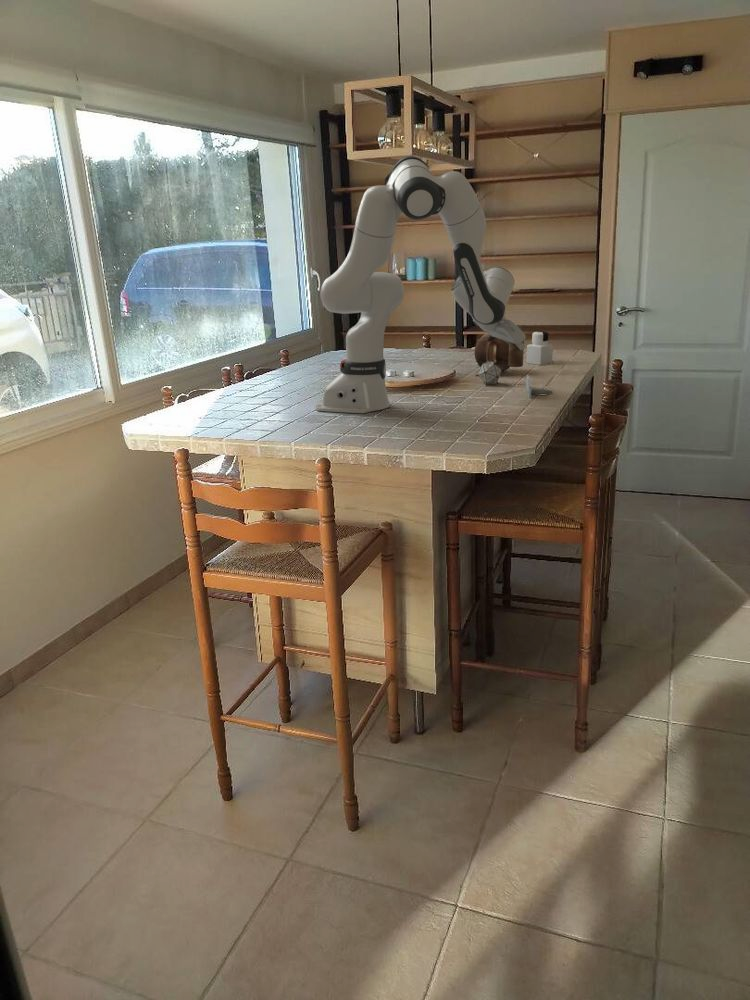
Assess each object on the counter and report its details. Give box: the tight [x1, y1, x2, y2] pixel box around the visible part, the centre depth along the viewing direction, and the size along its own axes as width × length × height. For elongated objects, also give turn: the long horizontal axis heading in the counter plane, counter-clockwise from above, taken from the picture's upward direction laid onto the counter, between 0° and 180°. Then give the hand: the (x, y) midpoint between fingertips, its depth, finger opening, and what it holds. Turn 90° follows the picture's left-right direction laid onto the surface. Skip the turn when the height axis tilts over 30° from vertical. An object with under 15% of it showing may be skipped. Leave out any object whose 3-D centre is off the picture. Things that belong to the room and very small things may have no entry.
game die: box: [475, 360, 505, 387], centre depth 256 cm, size 9×8×10 cm
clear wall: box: [525, 374, 532, 399], centre depth 242 cm, size 1×18×4 cm, turn 172°
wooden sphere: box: [474, 332, 511, 373], centre depth 274 cm, size 15×15×15 cm
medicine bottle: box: [525, 330, 554, 366], centre depth 291 cm, size 7×7×12 cm
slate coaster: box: [531, 388, 552, 395], centre depth 242 cm, size 7×7×1 cm
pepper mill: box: [508, 324, 525, 368], centre depth 239 cm, size 5×5×13 cm
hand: (518, 346), depth 239 cm, fingers closed on pepper mill, 5 cm apart
